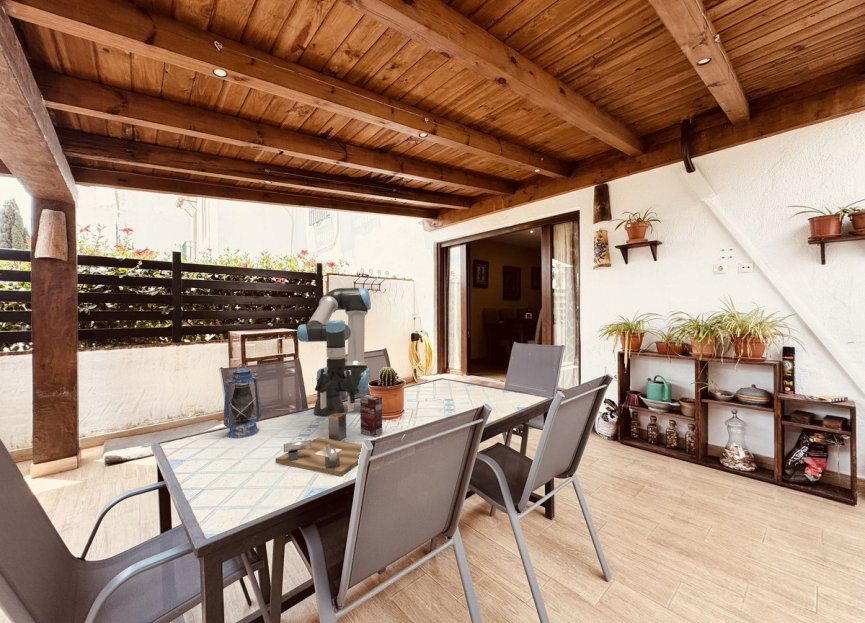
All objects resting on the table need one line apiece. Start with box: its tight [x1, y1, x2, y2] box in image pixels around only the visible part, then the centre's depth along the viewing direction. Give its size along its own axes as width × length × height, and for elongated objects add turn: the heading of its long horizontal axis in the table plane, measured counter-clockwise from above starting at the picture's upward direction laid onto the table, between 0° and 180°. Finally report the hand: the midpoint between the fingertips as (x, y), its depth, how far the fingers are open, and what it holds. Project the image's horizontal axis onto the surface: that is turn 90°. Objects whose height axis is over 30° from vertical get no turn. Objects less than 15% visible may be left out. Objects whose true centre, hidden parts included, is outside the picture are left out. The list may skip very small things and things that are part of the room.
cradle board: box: [275, 437, 363, 477], centre depth 136 cm, size 22×28×2 cm
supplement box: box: [359, 394, 383, 438], centre depth 159 cm, size 9×5×16 cm, turn 58°
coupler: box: [327, 412, 347, 441], centre depth 153 cm, size 5×5×10 cm
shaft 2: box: [325, 443, 340, 469], centre depth 126 cm, size 9×4×5 cm, turn 22°
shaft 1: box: [283, 439, 312, 461], centre depth 132 cm, size 9×4×5 cm, turn 112°
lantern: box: [223, 363, 262, 439], centre depth 162 cm, size 15×12×30 cm
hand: (336, 409), depth 153 cm, fingers open, 13 cm apart
